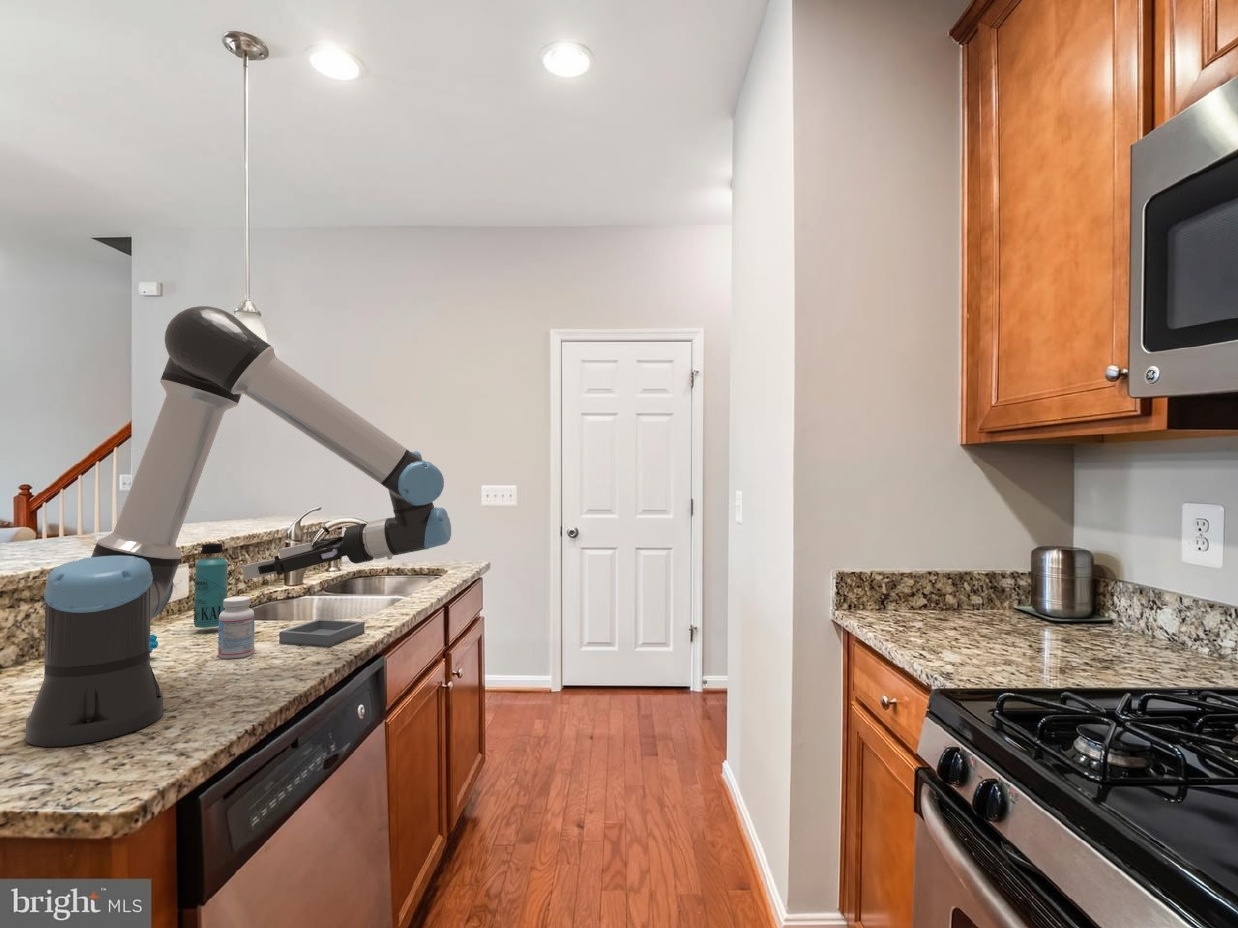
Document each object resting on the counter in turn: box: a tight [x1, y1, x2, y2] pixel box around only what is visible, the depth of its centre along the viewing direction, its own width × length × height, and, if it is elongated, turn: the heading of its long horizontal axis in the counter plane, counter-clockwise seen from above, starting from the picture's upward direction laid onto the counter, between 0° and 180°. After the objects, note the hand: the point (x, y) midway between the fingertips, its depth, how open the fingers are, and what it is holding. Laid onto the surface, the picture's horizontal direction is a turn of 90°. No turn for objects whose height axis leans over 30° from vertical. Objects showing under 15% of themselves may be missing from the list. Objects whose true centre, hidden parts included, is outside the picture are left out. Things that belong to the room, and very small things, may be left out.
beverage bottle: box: [192, 542, 229, 629], centre depth 142 cm, size 6×7×20 cm
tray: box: [278, 618, 366, 649], centre depth 136 cm, size 12×12×2 cm
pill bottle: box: [217, 596, 255, 660], centre depth 123 cm, size 6×6×11 cm
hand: (263, 563), depth 122 cm, fingers open, 13 cm apart
